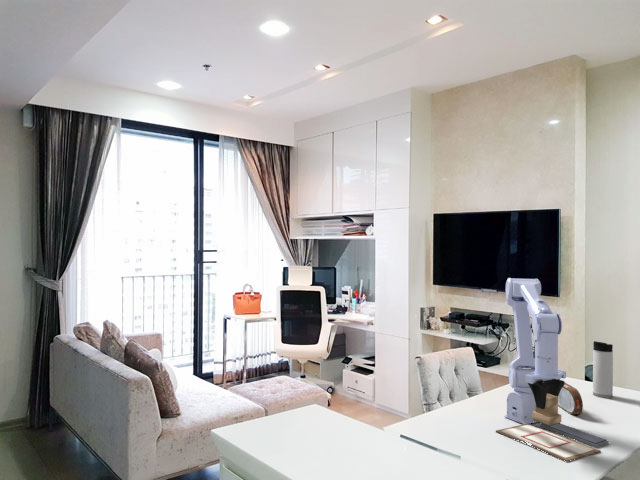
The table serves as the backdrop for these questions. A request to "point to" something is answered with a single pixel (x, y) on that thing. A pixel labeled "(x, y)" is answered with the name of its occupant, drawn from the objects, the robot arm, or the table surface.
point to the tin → (570, 400)
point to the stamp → (548, 412)
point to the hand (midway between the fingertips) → (545, 406)
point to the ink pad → (576, 435)
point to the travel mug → (602, 369)
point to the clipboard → (549, 442)
